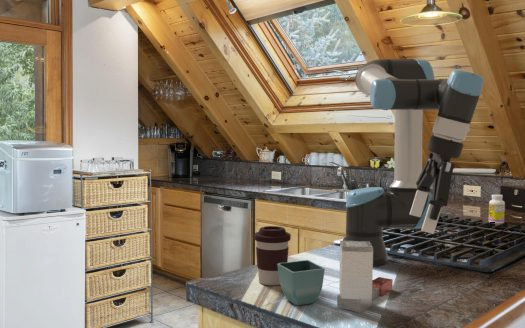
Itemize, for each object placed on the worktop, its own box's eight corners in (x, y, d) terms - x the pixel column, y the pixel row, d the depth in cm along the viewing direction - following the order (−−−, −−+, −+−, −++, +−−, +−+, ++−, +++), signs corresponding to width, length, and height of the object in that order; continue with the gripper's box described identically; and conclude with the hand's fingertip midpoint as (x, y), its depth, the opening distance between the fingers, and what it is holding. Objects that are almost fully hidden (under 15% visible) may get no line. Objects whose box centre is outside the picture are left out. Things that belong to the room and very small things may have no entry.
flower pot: (292, 310, 120) (292, 272, 119) (276, 298, 128) (276, 262, 127) (325, 305, 124) (325, 268, 123) (307, 294, 132) (308, 259, 131)
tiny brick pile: (337, 307, 122) (337, 278, 122) (374, 286, 139) (375, 260, 138) (360, 312, 118) (360, 282, 118) (396, 290, 135) (397, 264, 135)
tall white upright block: (341, 298, 119) (342, 247, 118) (339, 289, 126) (340, 240, 125) (371, 299, 119) (373, 247, 118) (368, 290, 126) (369, 241, 125)
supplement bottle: (487, 221, 243) (488, 193, 242) (502, 221, 241) (503, 194, 240) (489, 223, 237) (490, 195, 236) (505, 224, 235) (506, 196, 234)
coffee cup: (248, 285, 139) (248, 230, 138) (261, 275, 148) (261, 223, 147) (283, 289, 136) (284, 232, 135) (294, 279, 145) (295, 226, 144)
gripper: (481, 149, 107) (450, 244, 111) (449, 135, 132) (424, 213, 136) (446, 141, 108) (416, 235, 112) (420, 128, 132) (396, 206, 136)
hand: (420, 223), depth 124 cm, fingers open, 13 cm apart
